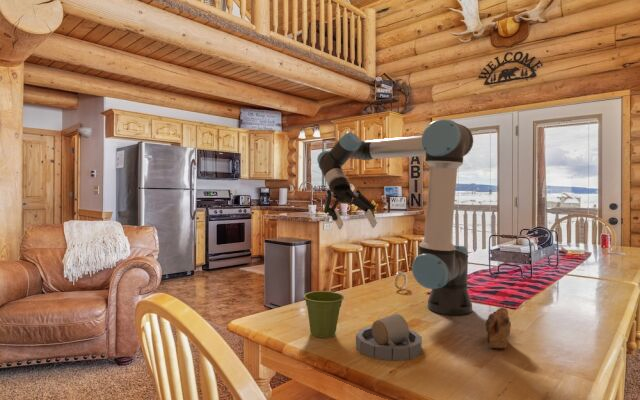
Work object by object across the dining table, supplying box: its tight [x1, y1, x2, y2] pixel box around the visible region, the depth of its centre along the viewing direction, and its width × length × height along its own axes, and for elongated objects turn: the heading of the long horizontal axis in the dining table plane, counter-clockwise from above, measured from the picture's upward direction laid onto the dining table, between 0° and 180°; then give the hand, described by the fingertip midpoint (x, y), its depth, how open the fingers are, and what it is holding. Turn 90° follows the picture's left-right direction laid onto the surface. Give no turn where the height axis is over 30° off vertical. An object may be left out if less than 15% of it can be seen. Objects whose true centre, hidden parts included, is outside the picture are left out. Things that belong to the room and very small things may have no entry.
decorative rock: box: [484, 307, 512, 349], centre depth 110 cm, size 12×6×11 cm, turn 160°
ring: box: [393, 270, 408, 291], centre depth 170 cm, size 7×3×8 cm, turn 120°
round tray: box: [355, 325, 423, 362], centre depth 108 cm, size 17×17×3 cm
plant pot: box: [303, 290, 345, 339], centre depth 117 cm, size 12×12×11 cm
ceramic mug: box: [371, 313, 410, 346], centre depth 106 cm, size 10×8×7 cm
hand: (358, 226), depth 139 cm, fingers open, 13 cm apart
